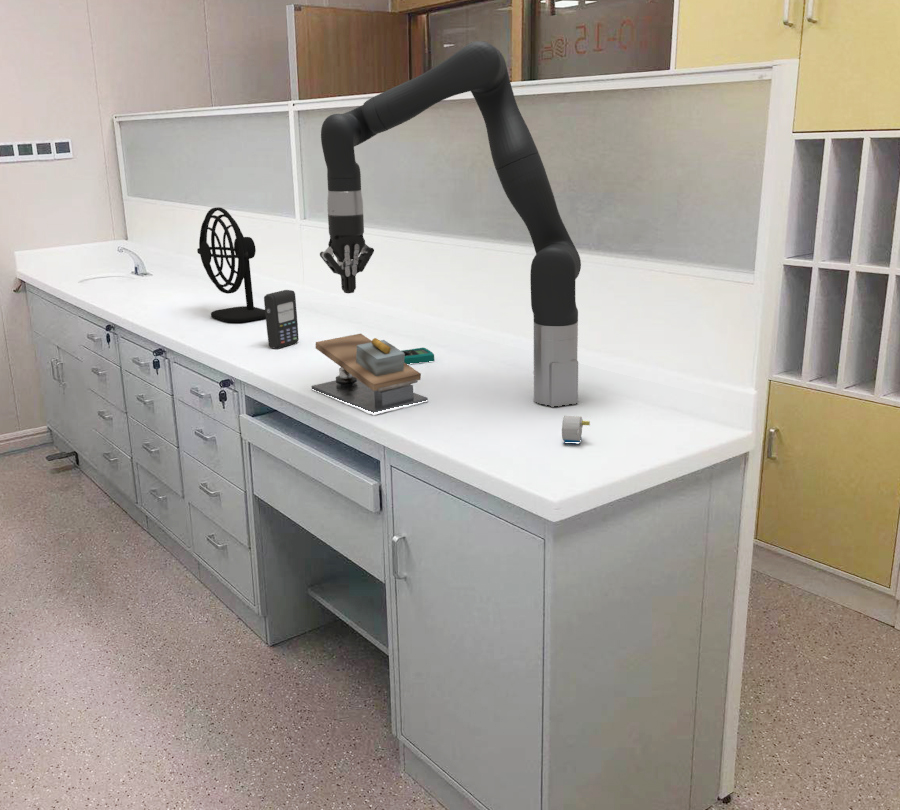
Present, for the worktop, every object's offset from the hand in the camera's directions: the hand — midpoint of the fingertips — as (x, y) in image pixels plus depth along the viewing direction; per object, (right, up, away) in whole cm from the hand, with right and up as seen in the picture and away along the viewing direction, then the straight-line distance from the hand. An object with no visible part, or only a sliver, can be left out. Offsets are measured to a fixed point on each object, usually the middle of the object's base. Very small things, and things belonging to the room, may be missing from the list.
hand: (349, 292), depth 195 cm
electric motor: (+46, -32, -29) cm, 63 cm away
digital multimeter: (+10, -14, +32) cm, 36 cm away
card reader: (-24, -8, +52) cm, 58 cm away
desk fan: (-46, +3, +92) cm, 103 cm away
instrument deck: (+4, -16, +1) cm, 16 cm away
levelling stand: (+4, -23, +4) cm, 23 cm away
